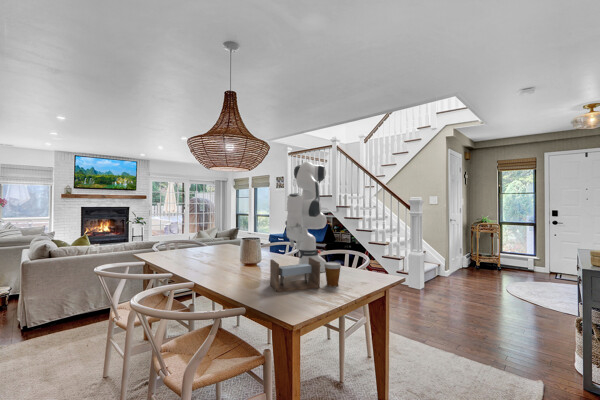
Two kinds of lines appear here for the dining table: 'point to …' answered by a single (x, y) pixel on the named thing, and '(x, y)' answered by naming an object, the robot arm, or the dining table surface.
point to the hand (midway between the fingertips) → (294, 248)
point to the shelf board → (294, 269)
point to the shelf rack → (309, 280)
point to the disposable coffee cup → (332, 273)
